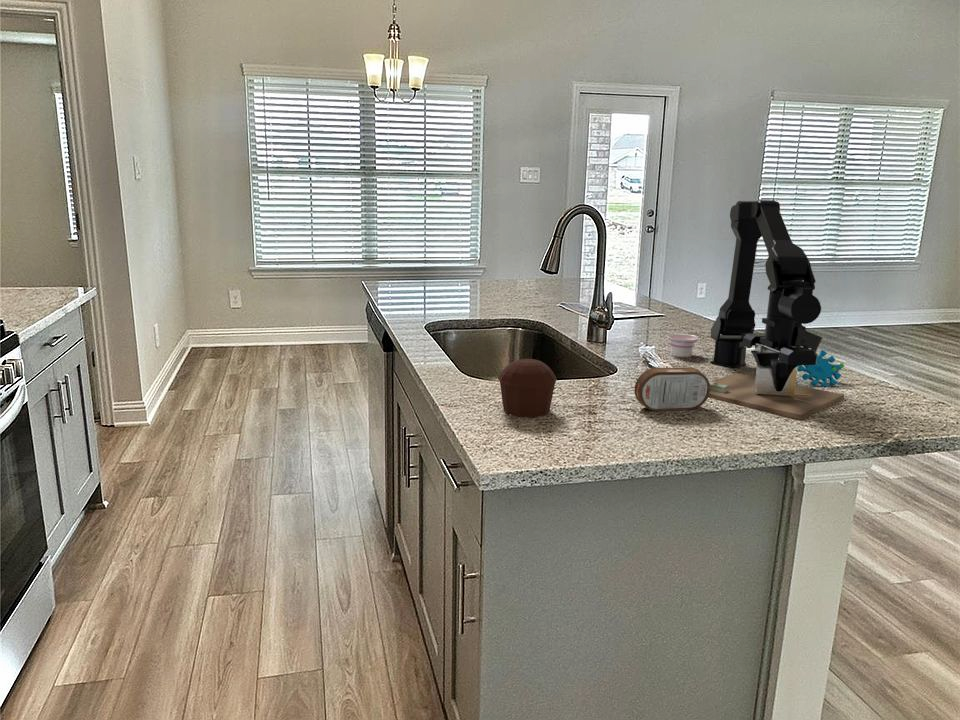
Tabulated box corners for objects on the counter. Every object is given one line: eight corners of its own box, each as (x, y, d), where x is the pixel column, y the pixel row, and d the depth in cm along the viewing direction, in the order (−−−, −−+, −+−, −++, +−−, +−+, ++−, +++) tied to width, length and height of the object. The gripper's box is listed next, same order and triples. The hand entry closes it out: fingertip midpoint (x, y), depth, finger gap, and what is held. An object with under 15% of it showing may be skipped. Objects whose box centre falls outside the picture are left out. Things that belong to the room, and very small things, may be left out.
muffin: (521, 398, 144) (522, 351, 142) (566, 409, 137) (569, 360, 135) (485, 411, 135) (486, 361, 133) (531, 424, 128) (533, 371, 126)
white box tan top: (756, 394, 146) (759, 368, 145) (754, 390, 149) (757, 364, 148) (793, 396, 145) (797, 370, 143) (790, 392, 148) (793, 367, 146)
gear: (806, 385, 155) (793, 346, 160) (793, 397, 160) (782, 359, 165) (853, 385, 156) (839, 346, 161) (839, 397, 161) (826, 359, 166)
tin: (702, 406, 141) (706, 365, 140) (710, 410, 138) (714, 369, 136) (632, 408, 139) (635, 367, 137) (638, 413, 136) (641, 371, 134)
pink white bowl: (706, 366, 175) (709, 342, 174) (657, 363, 177) (659, 339, 176) (701, 356, 187) (703, 333, 185) (655, 353, 189) (657, 331, 187)
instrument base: (687, 393, 150) (688, 381, 150) (736, 376, 165) (738, 365, 164) (800, 420, 133) (801, 406, 133) (843, 399, 148) (845, 386, 147)
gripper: (847, 323, 135) (836, 400, 139) (792, 307, 153) (784, 376, 157) (794, 323, 134) (784, 401, 137) (745, 307, 152) (737, 377, 155)
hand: (773, 388), depth 147 cm, fingers closed on white box tan top, 4 cm apart
